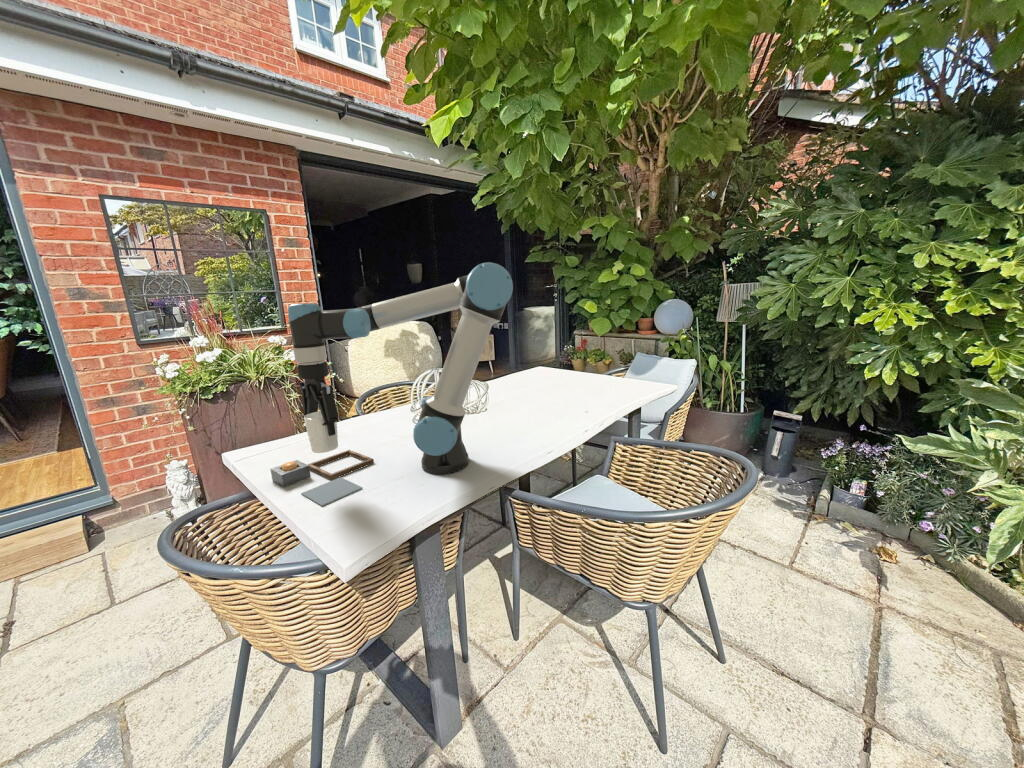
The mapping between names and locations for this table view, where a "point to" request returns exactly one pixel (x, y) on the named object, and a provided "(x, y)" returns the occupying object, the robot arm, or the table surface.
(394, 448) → the table surface
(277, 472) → the housing
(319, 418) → the white cup
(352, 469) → the collar
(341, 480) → the mat
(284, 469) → the orange rounded block
